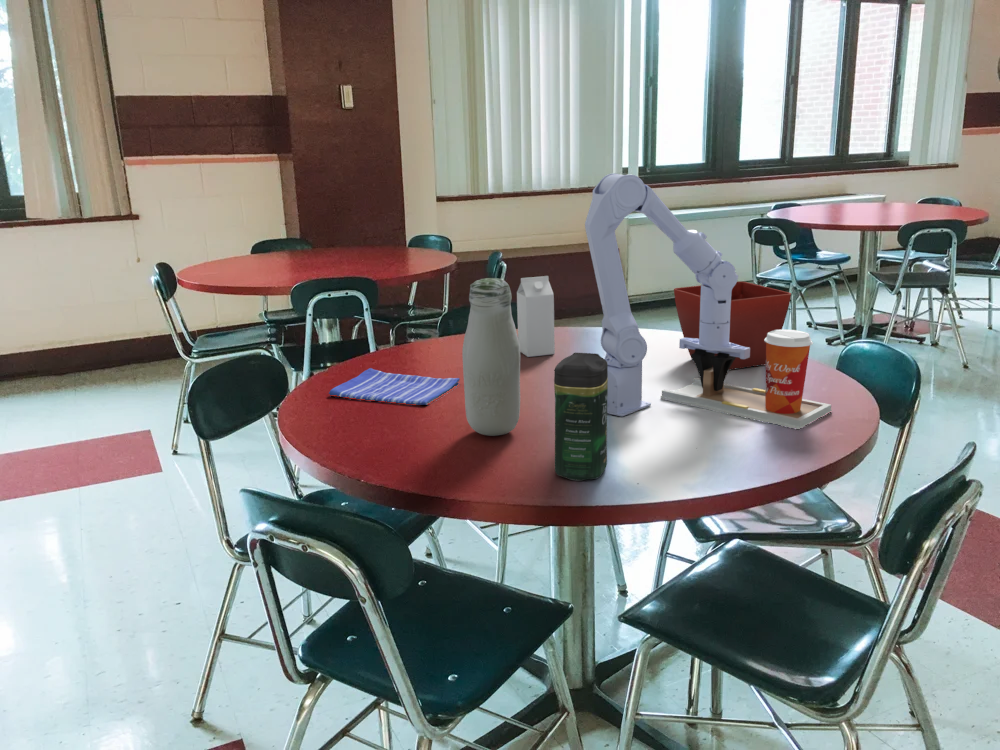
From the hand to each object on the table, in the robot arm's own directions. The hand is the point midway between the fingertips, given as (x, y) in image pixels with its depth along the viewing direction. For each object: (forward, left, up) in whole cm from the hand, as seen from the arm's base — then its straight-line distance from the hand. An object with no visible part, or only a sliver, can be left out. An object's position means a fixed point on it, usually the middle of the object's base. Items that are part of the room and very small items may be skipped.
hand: (712, 388), depth 161 cm
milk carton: (+6, +53, -2) cm, 54 cm away
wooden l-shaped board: (0, -9, -2) cm, 10 cm away
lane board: (0, -7, -2) cm, 7 cm away
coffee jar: (-45, -5, -2) cm, 46 cm away
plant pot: (+27, +12, -2) cm, 29 cm away
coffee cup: (0, -15, -2) cm, 15 cm away
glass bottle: (-42, +18, -2) cm, 46 cm away
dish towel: (-37, +54, -3) cm, 66 cm away
